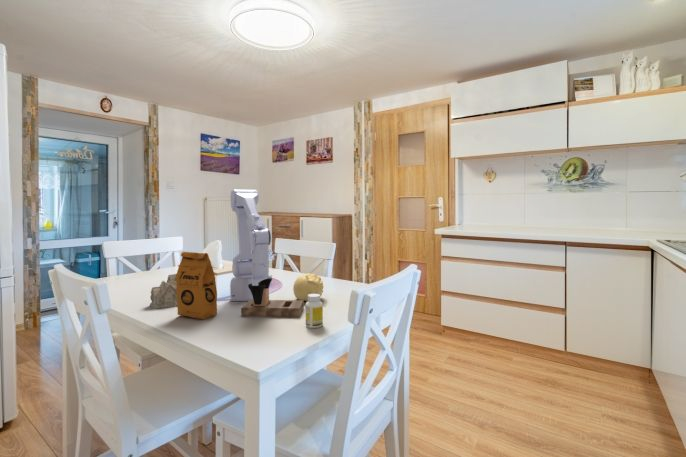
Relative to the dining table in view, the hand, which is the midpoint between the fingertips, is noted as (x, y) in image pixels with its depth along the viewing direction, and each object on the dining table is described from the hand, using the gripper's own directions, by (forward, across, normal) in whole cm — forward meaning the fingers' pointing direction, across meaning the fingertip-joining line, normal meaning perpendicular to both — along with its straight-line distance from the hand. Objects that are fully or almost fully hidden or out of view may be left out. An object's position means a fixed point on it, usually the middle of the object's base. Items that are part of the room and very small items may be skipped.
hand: (260, 301), depth 126 cm
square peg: (+4, 0, 0) cm, 4 cm away
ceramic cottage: (+4, +12, +39) cm, 41 cm away
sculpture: (+4, +17, -15) cm, 23 cm away
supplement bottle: (+4, -13, -20) cm, 25 cm away
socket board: (+4, 0, -4) cm, 6 cm away
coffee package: (+4, -5, +20) cm, 21 cm away
